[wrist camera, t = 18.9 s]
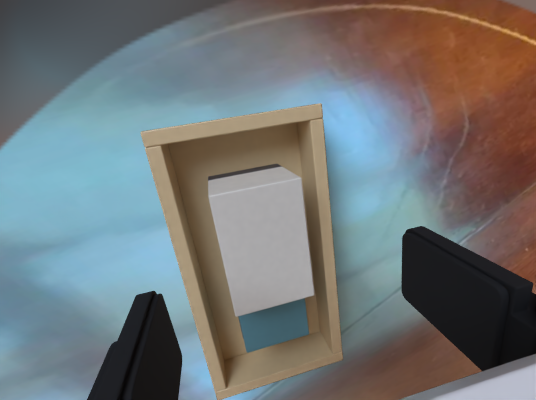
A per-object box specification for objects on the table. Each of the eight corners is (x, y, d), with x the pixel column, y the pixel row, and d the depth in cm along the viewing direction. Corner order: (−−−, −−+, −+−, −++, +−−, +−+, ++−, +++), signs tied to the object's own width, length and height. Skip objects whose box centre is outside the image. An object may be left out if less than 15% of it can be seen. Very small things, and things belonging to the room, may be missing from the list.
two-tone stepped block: (207, 176, 17) (208, 196, 13) (277, 163, 18) (301, 177, 13) (241, 327, 21) (250, 384, 16) (298, 311, 21) (322, 362, 17)
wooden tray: (151, 129, 16) (139, 131, 13) (303, 106, 18) (322, 103, 15) (216, 364, 22) (217, 400, 19) (326, 330, 23) (343, 360, 21)
